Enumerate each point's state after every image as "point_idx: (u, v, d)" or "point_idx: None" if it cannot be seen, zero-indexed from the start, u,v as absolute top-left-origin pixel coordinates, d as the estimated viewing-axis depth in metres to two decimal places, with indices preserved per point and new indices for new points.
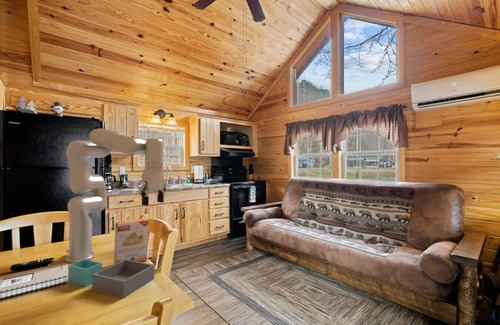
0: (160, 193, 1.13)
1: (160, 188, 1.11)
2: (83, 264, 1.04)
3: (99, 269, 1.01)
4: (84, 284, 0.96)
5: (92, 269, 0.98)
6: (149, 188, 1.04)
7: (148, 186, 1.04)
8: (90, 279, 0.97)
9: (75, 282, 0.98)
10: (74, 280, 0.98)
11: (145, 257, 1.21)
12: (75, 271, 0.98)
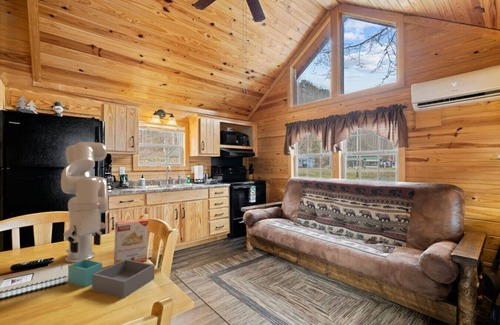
0: (96, 235, 1.05)
1: (95, 230, 1.02)
2: (83, 264, 1.04)
3: (99, 269, 1.01)
4: (84, 284, 0.96)
5: (92, 269, 0.98)
6: (78, 233, 0.95)
7: (77, 231, 0.95)
8: (90, 279, 0.97)
9: (75, 282, 0.98)
10: (74, 280, 0.98)
11: (145, 257, 1.21)
12: (75, 271, 0.98)
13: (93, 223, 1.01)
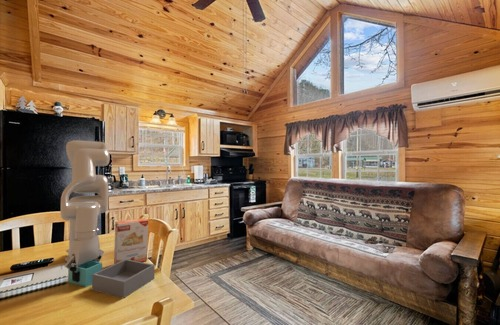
0: None
1: (94, 257, 1.02)
2: (83, 264, 1.04)
3: (99, 269, 1.01)
4: (84, 284, 0.96)
5: (92, 269, 0.98)
6: (77, 262, 0.96)
7: (77, 261, 0.96)
8: (90, 279, 0.97)
9: (75, 282, 0.97)
10: None
11: (145, 257, 1.21)
12: None
13: (92, 250, 1.01)
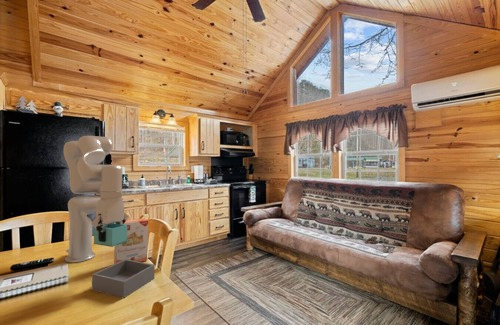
0: None
1: (119, 219, 1.01)
2: (107, 227, 1.03)
3: (124, 231, 1.00)
4: (110, 244, 0.94)
5: (117, 230, 0.97)
6: (104, 221, 0.94)
7: (103, 221, 0.94)
8: (116, 239, 0.96)
9: (101, 243, 0.96)
10: None
11: (145, 257, 1.21)
12: None
13: (117, 212, 1.00)
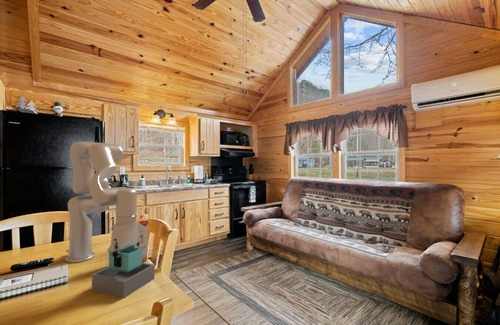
0: None
1: (133, 243, 1.00)
2: None
3: (139, 255, 0.99)
4: (126, 269, 0.94)
5: (133, 255, 0.96)
6: (119, 247, 0.94)
7: (119, 246, 0.94)
8: (131, 264, 0.95)
9: (116, 268, 0.96)
10: None
11: (145, 257, 1.21)
12: None
13: (132, 236, 0.99)
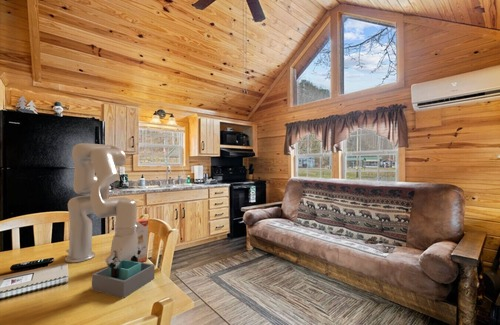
0: (134, 258, 1.03)
1: (133, 254, 1.00)
2: (121, 265, 1.02)
3: (138, 269, 0.99)
4: None
5: (132, 270, 0.96)
6: (119, 258, 0.94)
7: (118, 256, 0.94)
8: None
9: None
10: None
11: (145, 257, 1.21)
12: None
13: (132, 247, 0.99)
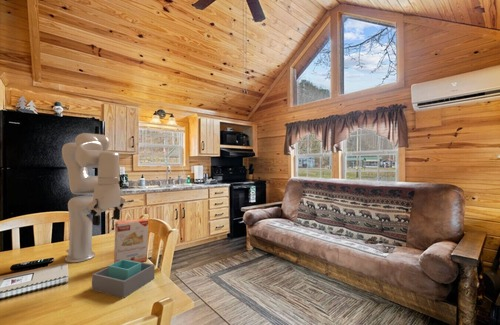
0: (116, 210, 1.06)
1: (115, 205, 1.03)
2: (121, 265, 1.02)
3: (138, 269, 0.99)
4: None
5: (132, 270, 0.96)
6: (100, 206, 0.96)
7: (99, 204, 0.96)
8: None
9: None
10: None
11: (145, 257, 1.21)
12: (116, 271, 0.96)
13: (114, 198, 1.01)
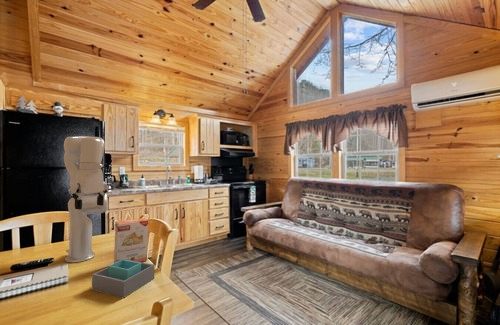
0: (100, 196, 1.07)
1: (98, 190, 1.04)
2: (121, 265, 1.02)
3: (138, 269, 0.99)
4: None
5: (132, 270, 0.96)
6: (82, 191, 0.98)
7: (81, 188, 0.98)
8: None
9: None
10: None
11: (145, 257, 1.21)
12: (116, 271, 0.96)
13: (97, 183, 1.03)
